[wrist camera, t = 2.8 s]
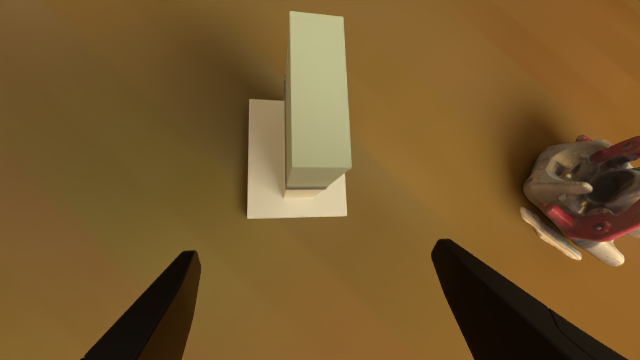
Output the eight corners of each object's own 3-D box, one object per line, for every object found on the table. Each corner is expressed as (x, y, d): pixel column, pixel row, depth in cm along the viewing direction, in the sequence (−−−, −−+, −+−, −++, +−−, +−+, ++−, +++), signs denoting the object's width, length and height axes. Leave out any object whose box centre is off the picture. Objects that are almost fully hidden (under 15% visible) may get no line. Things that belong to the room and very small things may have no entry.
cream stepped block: (343, 216, 22) (370, 211, 16) (248, 218, 21) (236, 214, 14) (338, 108, 24) (360, 66, 18) (250, 104, 23) (240, 56, 16)
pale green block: (326, 187, 15) (352, 168, 10) (286, 188, 15) (291, 167, 10) (322, 80, 17) (343, 16, 12) (284, 78, 16) (289, 10, 11)
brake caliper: (550, 103, 25) (794, 103, 16) (548, 171, 32) (721, 198, 23) (503, 194, 23) (766, 254, 13) (512, 247, 29) (692, 312, 20)
